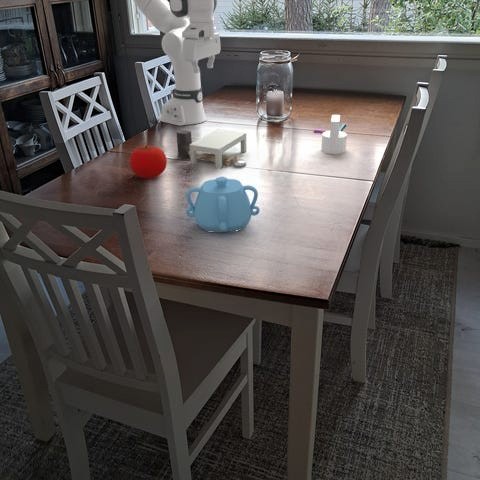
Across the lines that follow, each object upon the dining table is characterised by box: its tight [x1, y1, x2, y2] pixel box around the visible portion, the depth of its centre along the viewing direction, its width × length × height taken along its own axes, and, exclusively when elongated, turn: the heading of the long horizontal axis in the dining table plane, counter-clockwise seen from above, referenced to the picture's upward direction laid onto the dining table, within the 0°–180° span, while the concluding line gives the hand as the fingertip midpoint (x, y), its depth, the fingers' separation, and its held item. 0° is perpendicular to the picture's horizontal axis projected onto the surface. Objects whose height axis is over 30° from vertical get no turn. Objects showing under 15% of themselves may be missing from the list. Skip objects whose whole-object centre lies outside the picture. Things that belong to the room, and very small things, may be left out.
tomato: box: [129, 144, 168, 179], centre depth 171 cm, size 11×12×10 cm
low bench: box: [189, 128, 247, 169], centre depth 187 cm, size 12×20×7 cm, turn 152°
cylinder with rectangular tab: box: [321, 114, 348, 155], centre depth 190 cm, size 9×9×12 cm
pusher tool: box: [175, 129, 238, 167], centre depth 184 cm, size 22×6×9 cm, turn 62°
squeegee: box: [313, 123, 347, 134], centre depth 209 cm, size 29×2×10 cm
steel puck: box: [231, 158, 247, 168], centre depth 181 cm, size 5×5×2 cm
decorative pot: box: [185, 176, 261, 233], centre depth 138 cm, size 16×16×14 cm
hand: (203, 70), depth 188 cm, fingers open, 8 cm apart
